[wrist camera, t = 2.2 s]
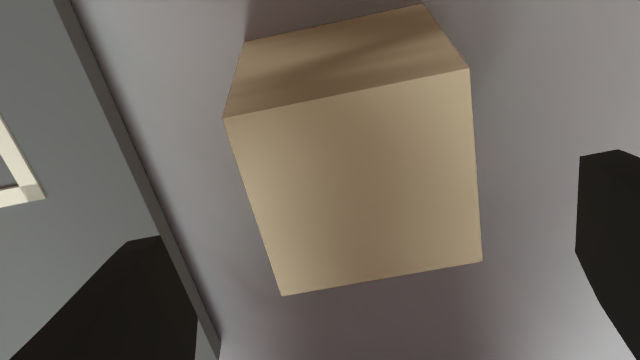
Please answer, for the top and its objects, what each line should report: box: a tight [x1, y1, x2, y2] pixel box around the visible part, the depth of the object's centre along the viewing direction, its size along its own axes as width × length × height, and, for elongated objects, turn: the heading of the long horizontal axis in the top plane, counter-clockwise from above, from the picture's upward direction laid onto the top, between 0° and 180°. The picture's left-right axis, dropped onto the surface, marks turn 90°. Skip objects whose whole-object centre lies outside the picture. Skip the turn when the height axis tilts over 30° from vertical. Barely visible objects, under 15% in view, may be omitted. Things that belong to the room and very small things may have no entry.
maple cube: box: [222, 3, 483, 296], centre depth 13 cm, size 4×4×4 cm
